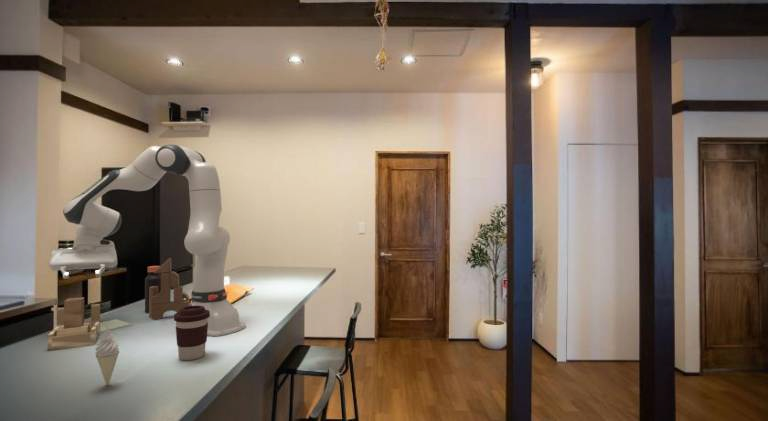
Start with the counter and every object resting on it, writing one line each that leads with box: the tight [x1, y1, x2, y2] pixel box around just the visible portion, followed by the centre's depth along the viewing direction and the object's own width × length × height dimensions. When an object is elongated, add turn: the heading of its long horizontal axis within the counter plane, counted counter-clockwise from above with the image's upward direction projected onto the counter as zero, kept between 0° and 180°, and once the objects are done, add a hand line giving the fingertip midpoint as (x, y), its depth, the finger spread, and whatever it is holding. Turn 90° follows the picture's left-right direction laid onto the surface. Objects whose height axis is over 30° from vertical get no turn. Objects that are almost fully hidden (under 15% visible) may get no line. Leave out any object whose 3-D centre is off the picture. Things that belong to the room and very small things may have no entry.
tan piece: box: [47, 303, 101, 352], centre depth 131 cm, size 12×12×11 cm
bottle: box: [144, 265, 161, 314], centre depth 171 cm, size 7×7×20 cm
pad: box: [90, 318, 132, 333], centre depth 148 cm, size 12×12×1 cm
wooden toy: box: [148, 257, 191, 320], centre depth 163 cm, size 16×7×25 cm, turn 111°
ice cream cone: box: [94, 327, 120, 386], centre depth 98 cm, size 5×5×15 cm
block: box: [63, 297, 85, 329], centre depth 129 cm, size 4×4×9 cm
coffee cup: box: [173, 305, 210, 361], centre depth 118 cm, size 10×10×15 cm
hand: (82, 276), depth 140 cm, fingers open, 8 cm apart
